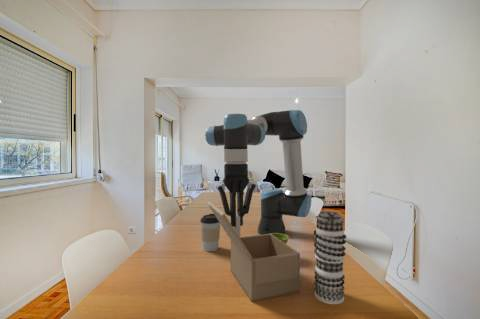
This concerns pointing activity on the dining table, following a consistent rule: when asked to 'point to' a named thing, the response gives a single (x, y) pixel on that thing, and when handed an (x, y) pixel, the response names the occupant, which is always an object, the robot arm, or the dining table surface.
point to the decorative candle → (329, 258)
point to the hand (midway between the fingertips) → (237, 236)
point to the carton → (266, 267)
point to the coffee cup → (210, 232)
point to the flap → (229, 229)
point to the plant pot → (281, 237)
